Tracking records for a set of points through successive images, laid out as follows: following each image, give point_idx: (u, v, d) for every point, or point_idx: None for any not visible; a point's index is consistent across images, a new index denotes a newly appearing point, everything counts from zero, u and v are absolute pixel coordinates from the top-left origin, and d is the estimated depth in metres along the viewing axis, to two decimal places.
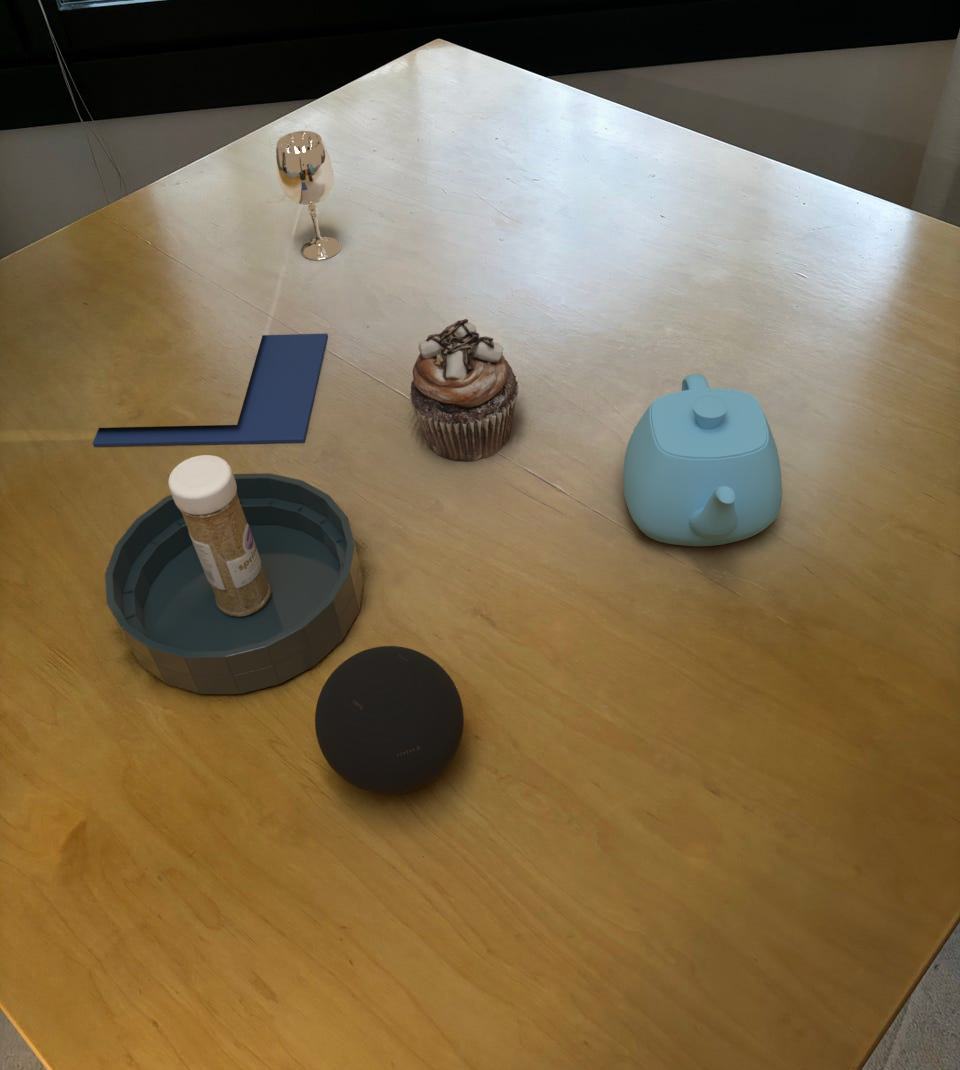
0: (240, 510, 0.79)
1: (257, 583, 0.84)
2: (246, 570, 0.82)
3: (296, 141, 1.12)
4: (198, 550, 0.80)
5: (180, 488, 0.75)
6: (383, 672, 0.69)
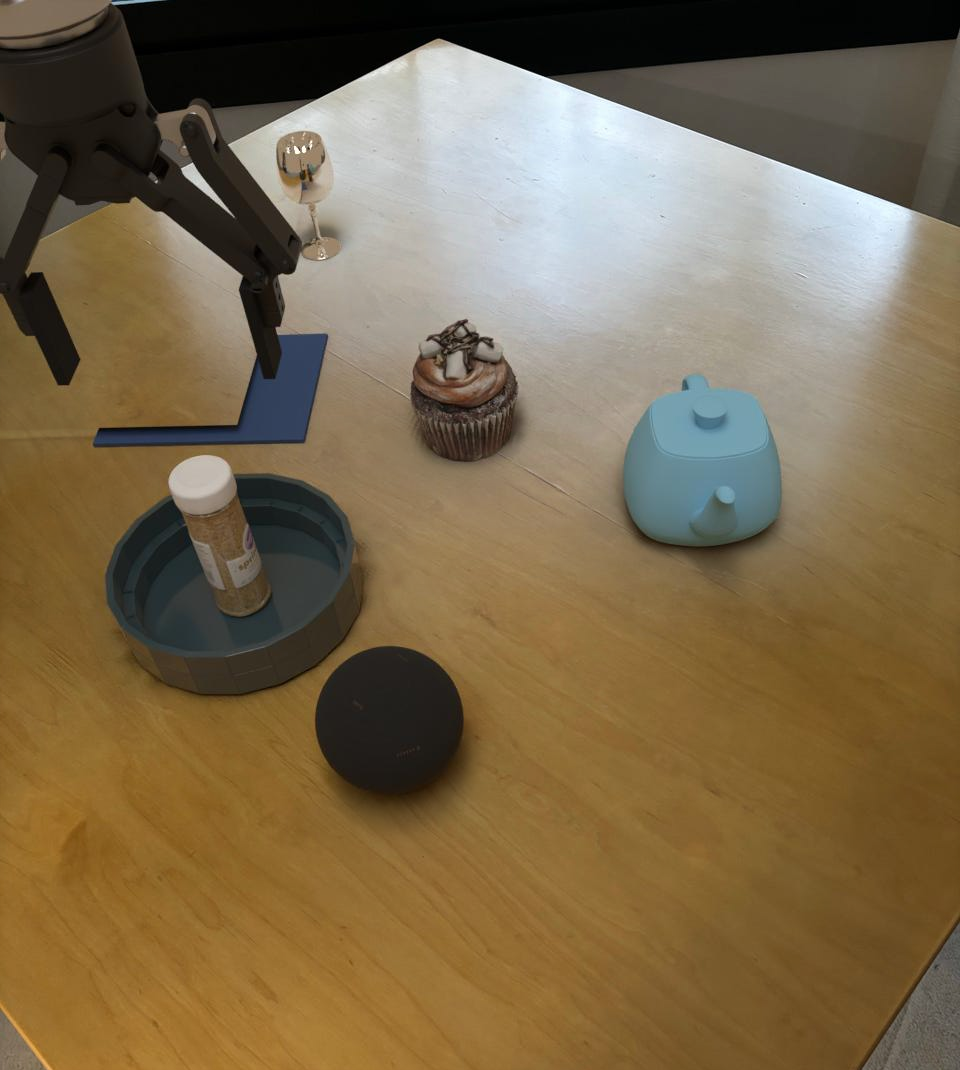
0: (240, 510, 0.79)
1: (257, 583, 0.84)
2: (246, 570, 0.82)
3: (296, 141, 1.12)
4: (198, 550, 0.80)
5: (180, 488, 0.75)
6: (383, 672, 0.69)
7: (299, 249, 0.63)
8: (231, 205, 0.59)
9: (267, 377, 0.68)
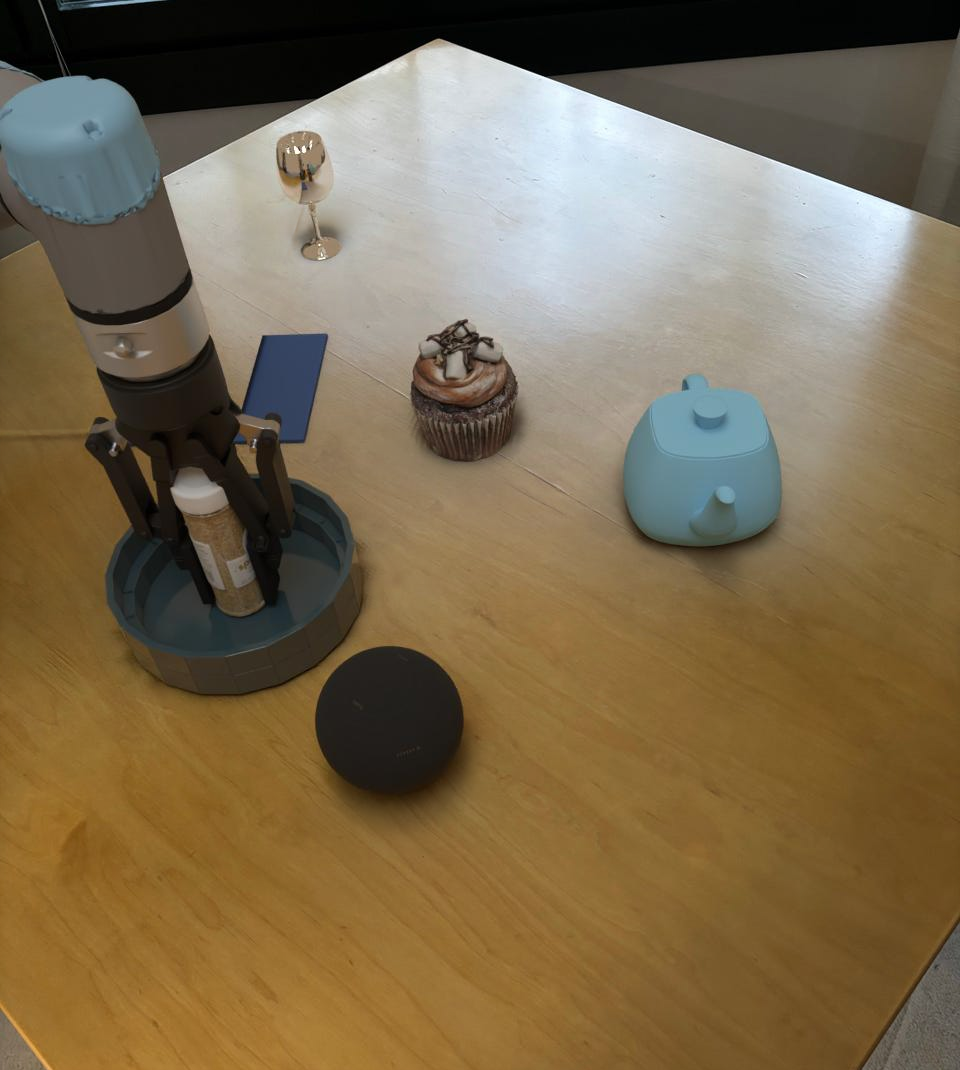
0: None
1: (257, 583, 0.84)
2: (246, 570, 0.82)
3: (296, 141, 1.12)
4: (198, 550, 0.80)
5: (180, 488, 0.75)
6: (383, 672, 0.69)
7: (294, 520, 0.80)
8: (267, 488, 0.75)
9: (268, 602, 0.85)
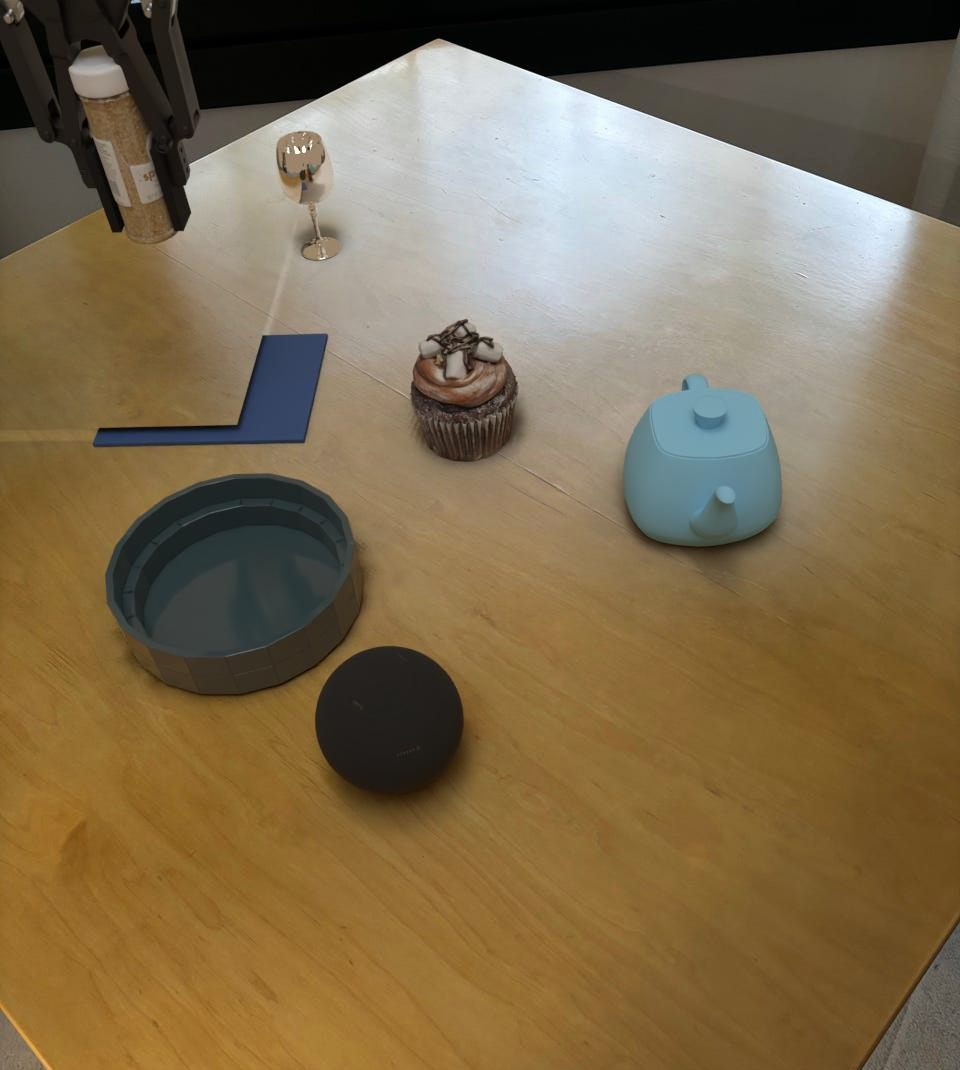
0: None
1: (165, 205, 0.83)
2: (152, 182, 0.81)
3: (296, 141, 1.12)
4: (101, 153, 0.79)
5: (78, 67, 0.75)
6: (383, 672, 0.69)
7: (198, 123, 0.79)
8: (165, 68, 0.75)
9: (177, 229, 0.84)
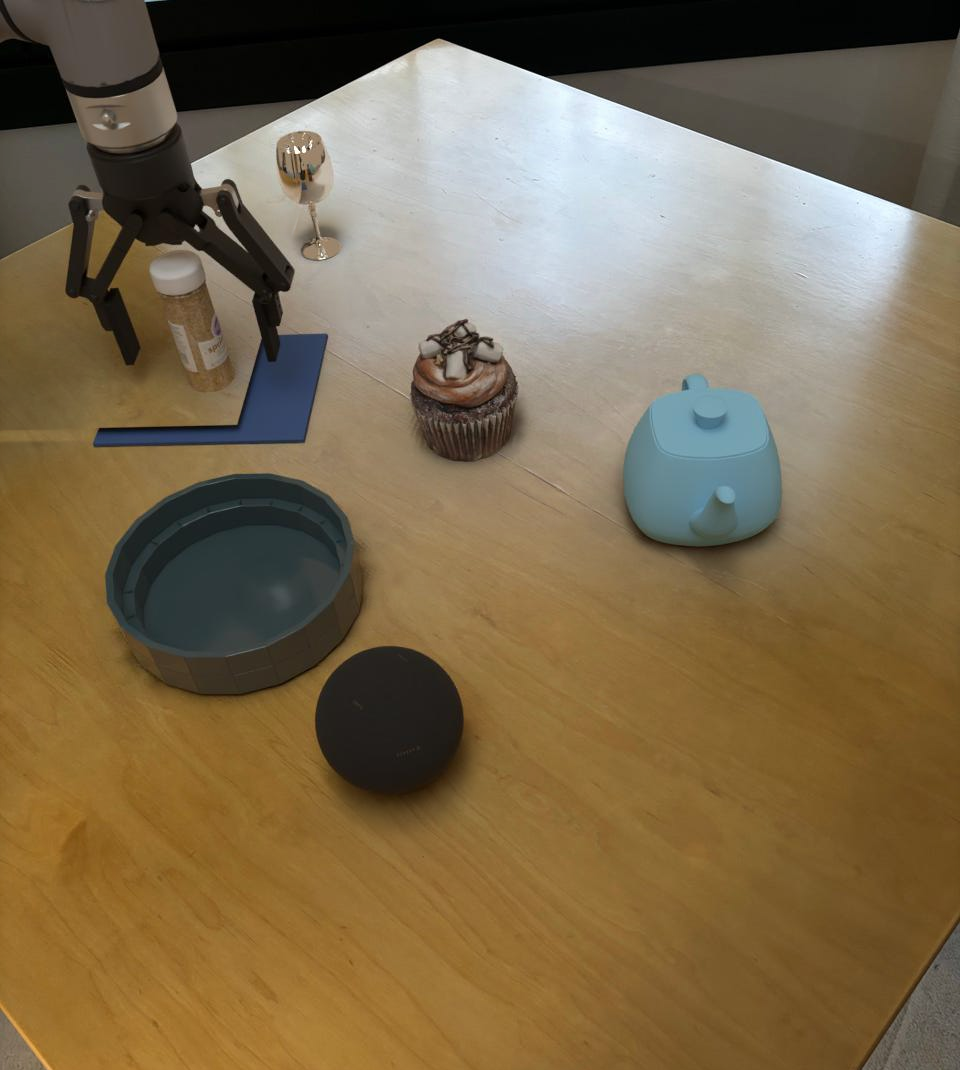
0: (209, 298, 0.96)
1: (224, 369, 1.01)
2: (215, 353, 0.99)
3: (296, 141, 1.12)
4: (175, 333, 0.97)
5: (158, 272, 0.93)
6: (383, 672, 0.69)
7: (292, 275, 0.94)
8: (248, 247, 0.91)
9: (270, 360, 1.00)
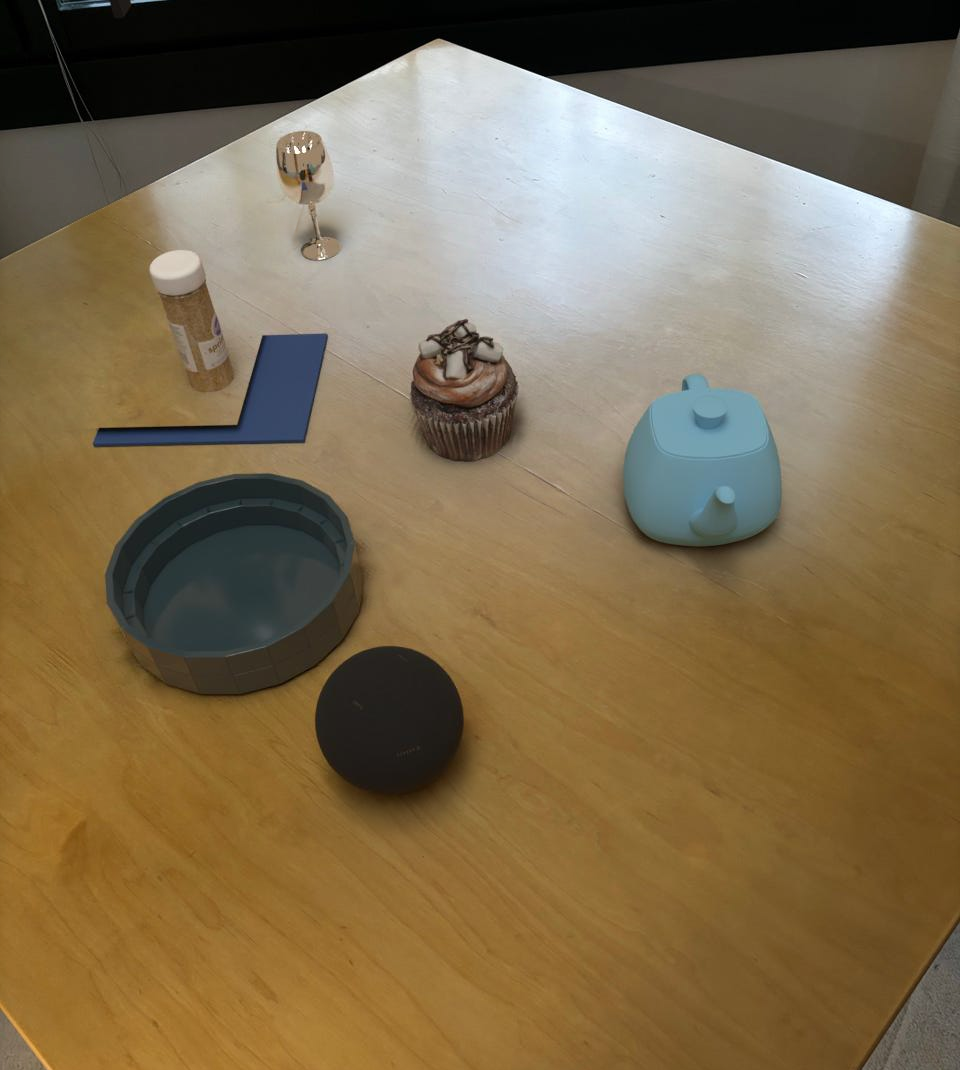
0: (209, 298, 0.96)
1: (224, 369, 1.01)
2: (215, 353, 0.99)
3: (296, 141, 1.12)
4: (175, 333, 0.97)
5: (159, 272, 0.93)
6: (383, 672, 0.69)
7: None
8: None
9: (117, 16, 0.90)
